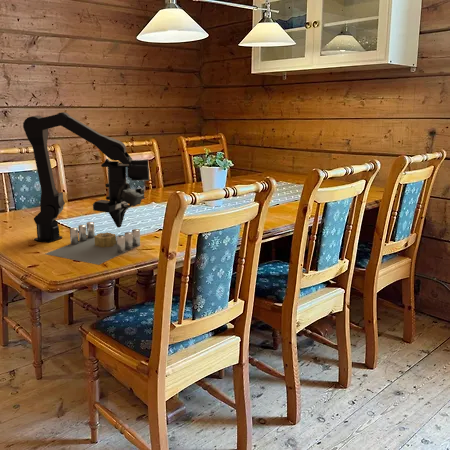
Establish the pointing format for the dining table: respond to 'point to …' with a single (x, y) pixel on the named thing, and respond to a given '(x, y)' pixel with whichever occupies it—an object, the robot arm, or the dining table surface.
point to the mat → (87, 252)
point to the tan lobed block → (105, 240)
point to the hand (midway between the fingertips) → (118, 227)
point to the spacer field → (122, 241)
